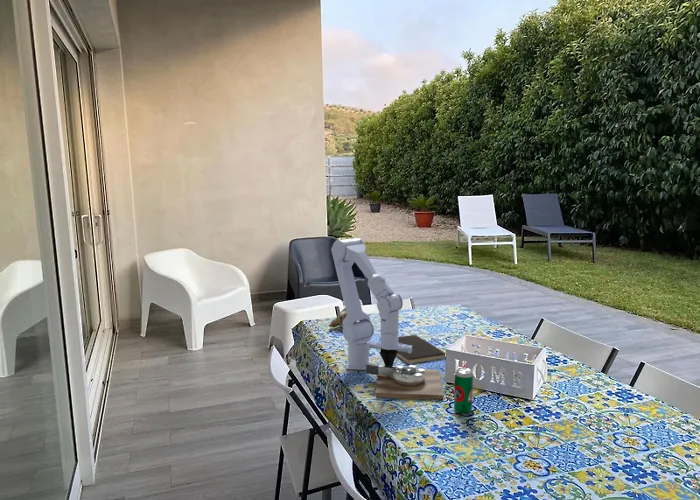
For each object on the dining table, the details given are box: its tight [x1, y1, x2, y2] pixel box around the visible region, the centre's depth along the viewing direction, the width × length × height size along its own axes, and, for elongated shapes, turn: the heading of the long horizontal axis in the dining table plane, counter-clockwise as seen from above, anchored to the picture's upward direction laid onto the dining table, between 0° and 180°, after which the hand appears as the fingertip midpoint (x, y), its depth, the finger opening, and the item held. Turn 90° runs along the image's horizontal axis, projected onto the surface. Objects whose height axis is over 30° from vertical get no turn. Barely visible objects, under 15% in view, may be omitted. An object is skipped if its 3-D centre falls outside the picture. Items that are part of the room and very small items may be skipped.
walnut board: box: [375, 368, 444, 401], centre depth 177 cm, size 20×20×2 cm
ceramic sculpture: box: [328, 307, 358, 329], centre depth 237 cm, size 11×9×15 cm
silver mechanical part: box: [365, 362, 425, 386], centre depth 179 cm, size 19×10×4 cm, turn 68°
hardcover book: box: [379, 334, 446, 365], centre depth 209 cm, size 16×23×2 cm
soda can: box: [453, 367, 474, 415], centre depth 158 cm, size 5×5×12 cm
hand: (389, 371), depth 182 cm, fingers closed
